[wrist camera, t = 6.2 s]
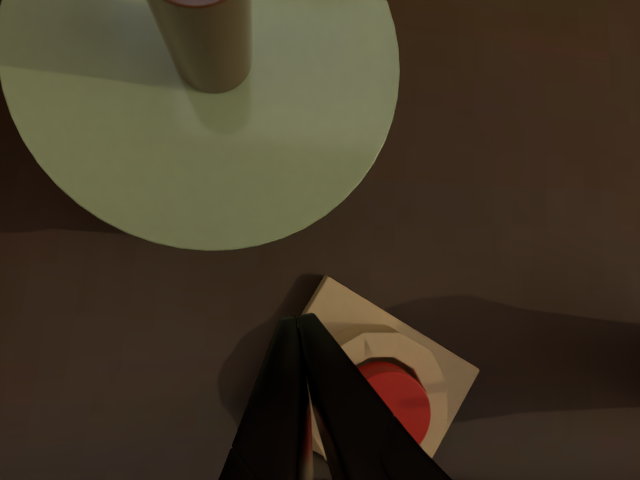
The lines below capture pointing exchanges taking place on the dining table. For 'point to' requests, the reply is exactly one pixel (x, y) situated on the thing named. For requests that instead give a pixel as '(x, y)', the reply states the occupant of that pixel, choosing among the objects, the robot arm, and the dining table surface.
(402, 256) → the dining table surface
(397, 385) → the button
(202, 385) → the dining table surface
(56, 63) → the lid
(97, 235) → the dining table surface
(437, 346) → the box
